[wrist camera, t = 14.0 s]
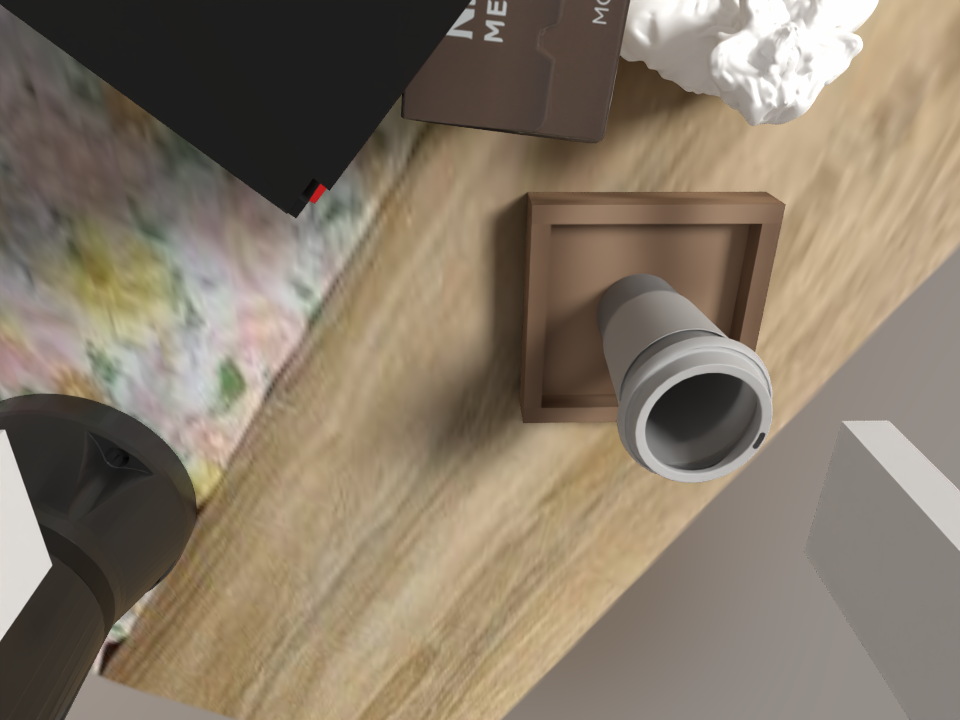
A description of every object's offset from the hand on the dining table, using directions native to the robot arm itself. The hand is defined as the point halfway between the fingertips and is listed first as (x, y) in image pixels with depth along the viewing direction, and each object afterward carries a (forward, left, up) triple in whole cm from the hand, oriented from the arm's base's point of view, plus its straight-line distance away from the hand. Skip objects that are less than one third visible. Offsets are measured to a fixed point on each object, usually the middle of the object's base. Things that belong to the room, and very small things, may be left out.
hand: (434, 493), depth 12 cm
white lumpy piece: (+13, +6, -29) cm, 32 cm away
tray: (+11, -9, -29) cm, 32 cm away
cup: (+11, -9, -28) cm, 31 cm away
